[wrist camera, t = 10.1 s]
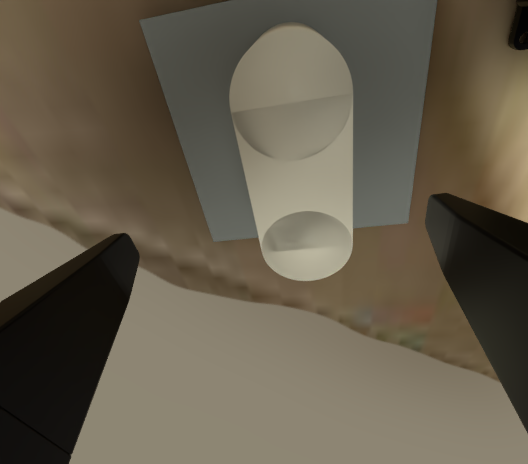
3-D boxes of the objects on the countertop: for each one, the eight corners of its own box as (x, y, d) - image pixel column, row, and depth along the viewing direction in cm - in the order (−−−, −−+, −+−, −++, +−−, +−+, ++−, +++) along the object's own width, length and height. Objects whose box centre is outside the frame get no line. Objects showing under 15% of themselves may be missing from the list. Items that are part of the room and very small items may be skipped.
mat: (437, -44, 13) (443, -46, 13) (405, 218, 21) (408, 223, 21) (143, 19, 15) (139, 20, 15) (214, 237, 24) (213, 241, 23)
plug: (331, 13, 14) (353, 16, 10) (338, 242, 22) (352, 306, 18) (238, 31, 15) (215, 43, 10) (277, 247, 23) (275, 311, 18)
